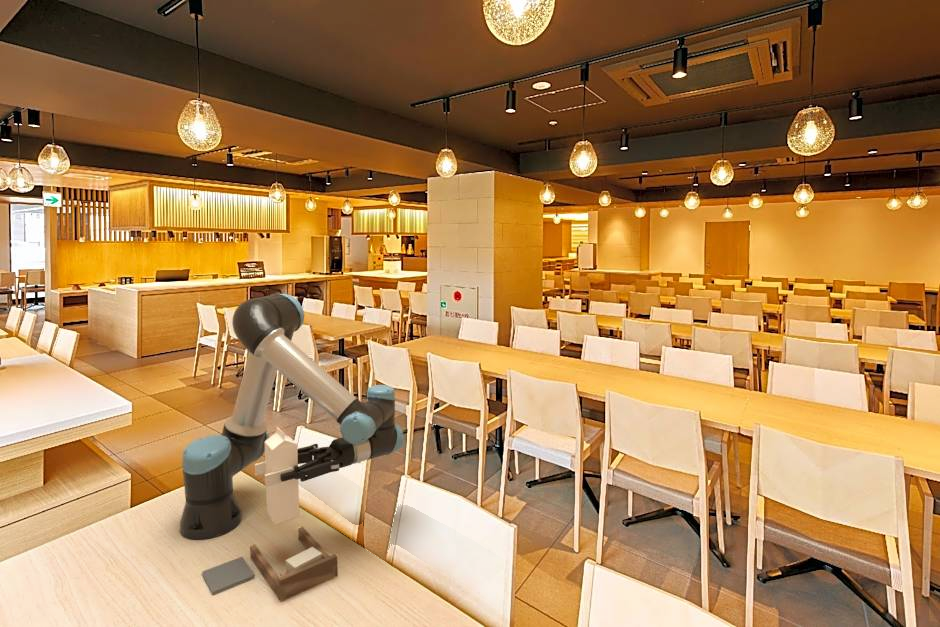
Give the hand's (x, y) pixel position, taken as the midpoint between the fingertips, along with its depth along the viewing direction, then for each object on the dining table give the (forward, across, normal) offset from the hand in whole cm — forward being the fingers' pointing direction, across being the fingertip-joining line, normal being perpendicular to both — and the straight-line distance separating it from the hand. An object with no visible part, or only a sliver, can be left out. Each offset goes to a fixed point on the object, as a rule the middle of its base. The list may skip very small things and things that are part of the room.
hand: (260, 475), depth 121 cm
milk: (-5, 0, -12) cm, 13 cm away
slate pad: (+8, 0, -23) cm, 24 cm away
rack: (-5, -6, -23) cm, 24 cm away
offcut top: (-5, -12, -20) cm, 24 cm away
